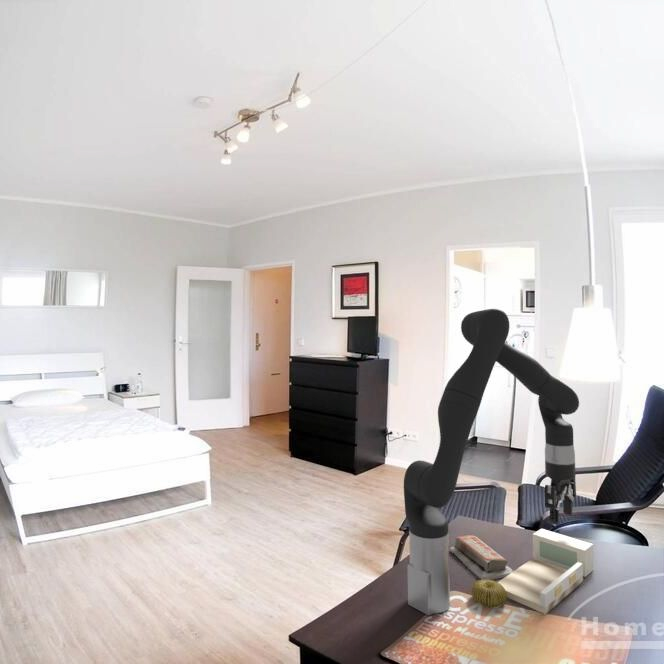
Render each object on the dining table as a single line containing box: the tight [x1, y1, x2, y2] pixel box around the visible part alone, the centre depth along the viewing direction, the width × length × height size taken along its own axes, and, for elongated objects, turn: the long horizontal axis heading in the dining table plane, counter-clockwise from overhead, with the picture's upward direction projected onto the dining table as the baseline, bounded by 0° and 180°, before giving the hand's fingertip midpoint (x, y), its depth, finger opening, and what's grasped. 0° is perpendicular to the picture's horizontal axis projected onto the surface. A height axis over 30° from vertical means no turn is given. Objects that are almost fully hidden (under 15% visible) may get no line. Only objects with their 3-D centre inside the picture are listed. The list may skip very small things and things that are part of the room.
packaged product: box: [449, 534, 514, 580], centre depth 131 cm, size 18×5×10 cm
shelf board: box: [497, 557, 584, 615], centre depth 118 cm, size 21×13×2 cm, turn 131°
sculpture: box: [471, 579, 508, 609], centre depth 112 cm, size 8×4×8 cm
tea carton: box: [532, 528, 595, 577], centre depth 129 cm, size 6×14×7 cm, turn 41°
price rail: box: [540, 562, 584, 608], centre depth 113 cm, size 21×1×3 cm, turn 131°
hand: (561, 518), depth 129 cm, fingers open, 8 cm apart
